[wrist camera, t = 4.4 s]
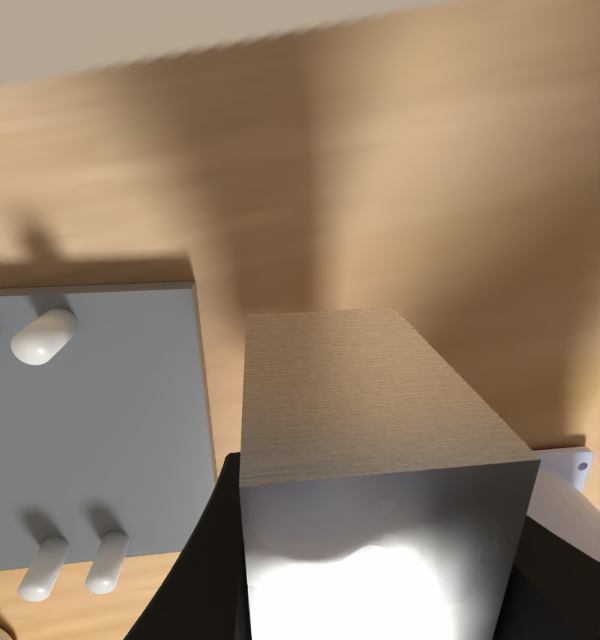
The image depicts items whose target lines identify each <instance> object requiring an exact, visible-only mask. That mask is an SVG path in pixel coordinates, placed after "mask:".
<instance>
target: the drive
mask: <svg viewBox="0 0 600 640" xmlns="http://www.w3.org/2000/svg"><path fill="white" fill-rule="evenodd" d="M540 462H541V459H540V458H539V457H538V455H537V454H536V453H535V452H534V451H533V450H532V449H531V448H530V447H529V446H528V445H527V444H526V443H525V442H524V441H523V440H522V439H521V438H520V437H519V436H518V435H517V434H516V433H515V432H514V431H513V430H512V429H511V428H510V427H509V426H508V425H507V424H506V423H505V422H504V421H503V419H502V418H501V417H500V416H499V415H498V414H497V413H496V412H495V411H494V410H493V409H492V408H491V407H490V406H489V405H488V404H487V403H486V402H485V401H484V400H483V399H482V398H481V397H480V396H479V395H478V394H477V393H476V392H475V391H474V390H473V389H472V388H471V387H470V386H469V384H468V383H467V382H466V381H465V380H464V379H463V378H462V377H461V376H460V375H459V374H458V373H457V372H456V371H455V370H454V369H453V368H452V367H451V366H450V365H449V364H448V363H447V362H446V361H445V360H444V359H443V358H442V357H441V356H440V355H439V354H438V353H437V352H436V351H435V350H434V348H433V347H432V346H431V345H430V344H429V343H428V342H427V341H426V340H425V339H424V338H423V337H422V336H421V335H420V334H419V333H418V332H417V331H416V330H415V329H414V328H413V327H412V326H411V325H410V324H409V323H408V322H407V321H406V320H405V319H404V318H403V317H402V316H401V315H400V314H399V312H398V311H397V310H396V309H395V308H394V307H392V308H371V309H350V310H329V311H308V312H287V313H266V314H246V335H245V359H244V382H243V406H242V430H241V453H240V477H239V492H240V503H241V515H242V526H243V538H244V550H245V561H246V573H247V585H248V596H249V608H250V619H251V631H252V640H492V639H493V635H494V631H495V628H496V624H497V620H498V617H499V613H500V609H501V606H502V602H503V598H504V595H505V591H506V587H507V584H508V580H509V576H510V573H511V569H512V565H513V562H514V558H515V554H516V551H517V547H518V543H519V540H520V536H521V532H522V529H523V525H524V521H525V518H526V514H527V510H528V507H529V503H530V499H531V496H532V492H533V488H534V485H535V481H536V477H537V473H538V470H539V466H540Z"/></svg>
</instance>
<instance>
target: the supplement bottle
mask: <svg viewBox="0 0 600 640" xmlns="http://www.w3.org/2000/svg"><path fill="white" fill-rule="evenodd" d="M0 640H12V638H11V637H10V636H9V635H8V634H7V633H6V632H5V631H4V630H2V629H1V628H0Z"/></svg>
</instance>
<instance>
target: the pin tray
mask: <svg viewBox="0 0 600 640" xmlns="http://www.w3.org/2000/svg"><path fill="white" fill-rule="evenodd" d="M217 481H218V479H217V470H216V461H215V452H214V443H213V434H212V425H211V416H210V407H209V398H208V389H207V380H206V371H205V362H204V353H203V344H202V335H201V326H200V318H199V309H198V300H197V291H196V282H195V281H179V282H154V283H129V284H103V285H78V286H53V287H27V288H2V289H0V571H3V570H13V569H22V568H29V569H28V571H27V573H26V574H25V576H24V578H23V580H22V582H21V584H20V585H19V587H18V590H17V592H18V595H19V596H20V597H21V598H23V599H25V600H27V601H33V602H36V601H42V600H44V599H46V598H47V597H48V596H49V594H50V592H51V590H52V588H53V585H54V583H55V581H56V579H57V577H58V575H59V573H60V571H61V568H62V566H63V564H69V563H78V562H88V561H93V564H92V566H91V569H90V571H89V574H88V576H87V579H86V581H85V586H86V588H87V589H88V590H89V591H90V592H93V593H96V594H105V593H109V592H111V591H112V590H113V589H114V588H115V587H116V583H117V580H118V577H119V574H120V571H121V568H122V565H123V562H124V559H125V557H134V556H144V555H153V554H163V553H172V552H181V551H182V550H183V548H184V547H185V545H186V543H187V541H188V540H189V538H190V536H191V534H192V532H193V531H194V529H195V527H196V525H197V523H198V521H199V519H200V517H201V515H202V513H203V511H204V509H205V507H206V505H207V503H208V501H209V499H210V497H211V494H212V492H213V490H214V488H215V485H216V483H217Z"/></svg>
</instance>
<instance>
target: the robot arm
mask: <svg viewBox="0 0 600 640" xmlns="http://www.w3.org/2000/svg"><path fill="white" fill-rule="evenodd" d="M534 452H535V453H536V454H537V455H538V457H539V458H540V459H541V462H540V466H539V470H538V473H537V477H536V481H535V485H534V488H533V492H532V496H531V499H530V503H529V507H528V510H527V514H526V518H525V521H524V525H523V529H522V532H521V536H520V540H519V543H518V547H517V551H516V554H515V558H514V562H513V565H512V569H511V573H510V576H509V580H508V584H507V587H506V591H505V595H504V598H503V602H502V606H501V609H500V613H499V617H498V620H497V624H496V628H495V631H494V635H493V639H492V640H600V511H599V510H598V509H597V508H596V507H595V506H594V505H593V504H592V503H591V502H590V501H589V500H588V499H587V498H586V497H585V496H584V495H583V494H582V491H583V488H584V485H585V482H586V479H587V476H588V473H589V470H590V467H591V464H592V461H593V458H594V454H593V452H592V451H591V450H590V449H589V448H587V447H584V446H581V447H570V448H559V449H547V450H536V451H534ZM240 453H241V452H237V453H229V454H228V455H227V456H226V458H225V461H224V464H223V467H222V470H221V473H220V476H219V478H218V481H217V483H216V485H215V488H214V490H213V492H212V494H211V497H210V499H209V501H208V503H207V505H206V507H205V509H204V511H203V513H202V515H201V517H200V519H199V521H198V523H197V525H196V527H195V529H194V531H193V532H192V534H191V536H190V538H189V540H188V541H187V543H186V545H185V547H184V548H183V550H182V552H181V554H180V556H179V557H178V559H177V561H176V562H175V564H174V566H173V567H172V569H171V570H170V572H169V574H168V575H167V577H166V578H165V580H164V582H163V583H162V585H161V586H160V588H159V589H158V591H157V592H156V594H155V595H154V597H153V598H152V600H151V601H150V603H149V604H148V606H147V607H146V609H145V610H144V611H143V613H142V614H141V616H140V617H139V618H138V620H137V621H136V623H135V624H134V625H133V627H132V628H131V629H130V631H129V632H128V634H127V635H126V636H125V638H124V639H123V640H252V631H251V619H250V608H249V596H248V585H247V573H246V561H245V550H244V538H243V526H242V515H241V503H240V492H239V477H240Z"/></svg>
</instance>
